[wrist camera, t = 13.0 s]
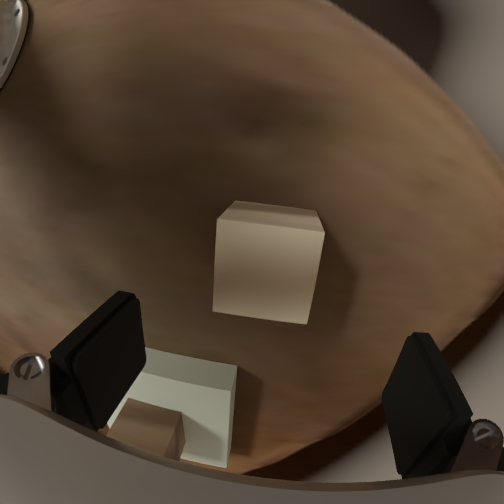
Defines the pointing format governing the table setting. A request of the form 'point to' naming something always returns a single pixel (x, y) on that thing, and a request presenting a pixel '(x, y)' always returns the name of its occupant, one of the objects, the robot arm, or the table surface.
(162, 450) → the walnut block
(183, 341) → the table surface
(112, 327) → the robot arm
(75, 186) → the table surface
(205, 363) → the base board
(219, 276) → the ash block
